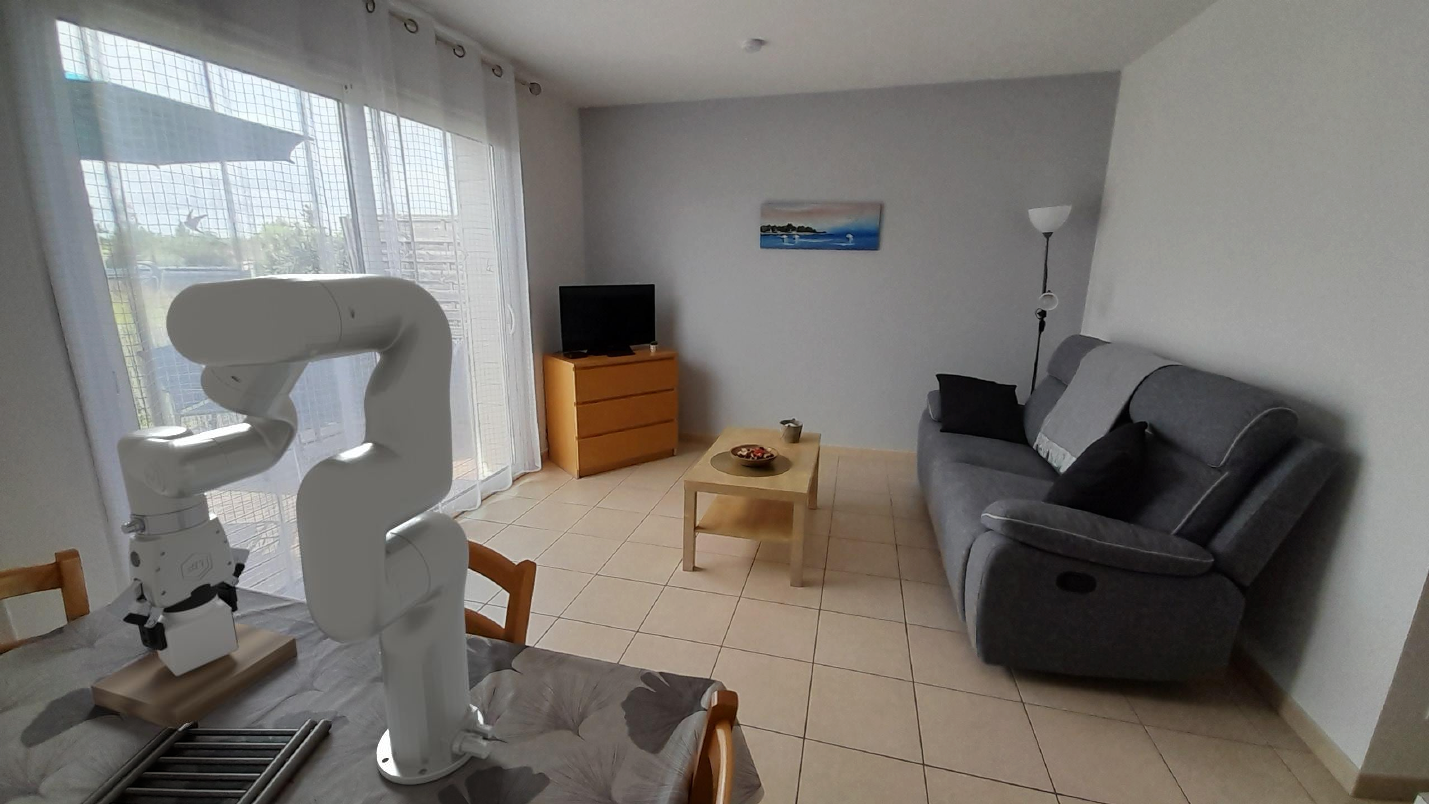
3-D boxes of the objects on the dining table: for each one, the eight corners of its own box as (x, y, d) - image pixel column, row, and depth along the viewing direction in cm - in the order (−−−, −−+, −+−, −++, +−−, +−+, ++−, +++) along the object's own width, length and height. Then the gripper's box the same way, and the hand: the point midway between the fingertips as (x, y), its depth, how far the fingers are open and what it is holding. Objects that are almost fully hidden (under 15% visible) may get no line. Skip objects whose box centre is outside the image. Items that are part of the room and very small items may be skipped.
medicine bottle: (240, 649, 83) (226, 576, 81) (176, 677, 77) (159, 599, 75) (220, 632, 87) (207, 561, 84) (158, 658, 81) (141, 583, 78)
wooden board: (297, 654, 89) (295, 637, 88) (181, 731, 74) (177, 712, 73) (220, 634, 93) (217, 618, 92) (95, 704, 78) (90, 685, 77)
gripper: (111, 550, 68) (140, 673, 72) (257, 496, 85) (274, 599, 89) (68, 540, 70) (98, 661, 74) (220, 490, 86) (237, 591, 90)
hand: (194, 627), depth 81 cm, fingers closed on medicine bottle, 8 cm apart
